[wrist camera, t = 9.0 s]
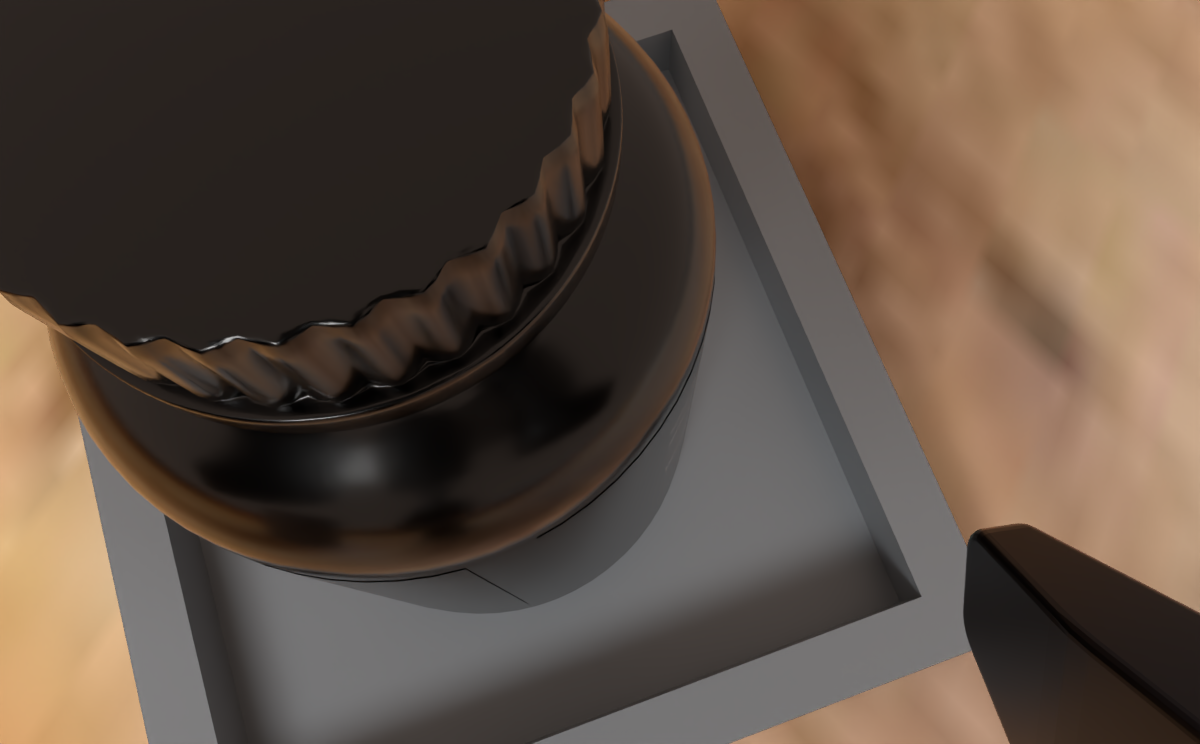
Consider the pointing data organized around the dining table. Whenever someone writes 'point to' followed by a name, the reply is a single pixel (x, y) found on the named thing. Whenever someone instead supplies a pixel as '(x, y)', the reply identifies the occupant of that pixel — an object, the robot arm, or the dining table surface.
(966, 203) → the dining table surface
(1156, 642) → the robot arm
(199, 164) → the supplement bottle
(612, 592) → the tray
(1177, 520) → the dining table surface
